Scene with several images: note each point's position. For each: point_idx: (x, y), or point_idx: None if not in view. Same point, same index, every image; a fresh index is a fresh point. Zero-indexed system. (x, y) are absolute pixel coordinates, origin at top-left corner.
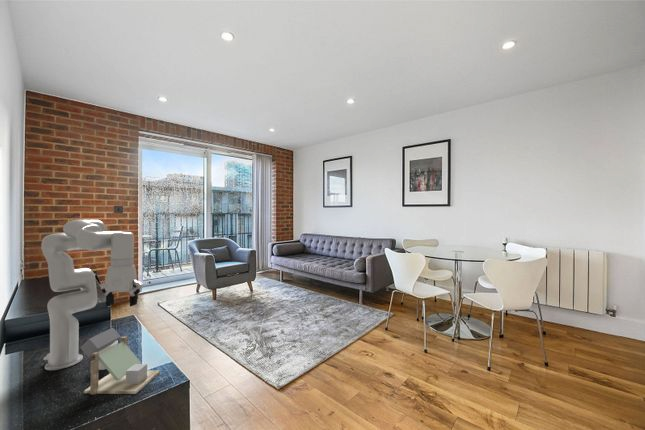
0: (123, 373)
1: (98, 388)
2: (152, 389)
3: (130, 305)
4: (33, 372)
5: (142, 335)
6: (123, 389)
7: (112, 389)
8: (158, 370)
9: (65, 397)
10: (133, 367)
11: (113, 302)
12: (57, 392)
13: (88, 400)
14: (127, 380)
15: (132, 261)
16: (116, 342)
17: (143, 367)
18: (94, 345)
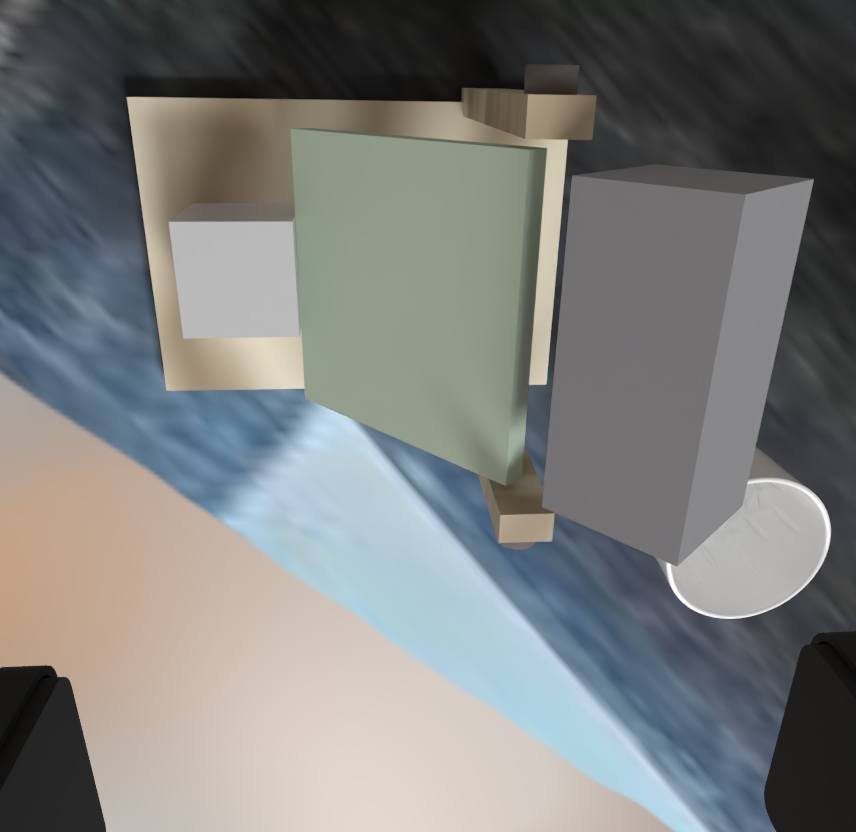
0: (304, 203)
1: (476, 134)
2: (40, 160)
3: (12, 679)
4: None
5: (700, 825)
6: (252, 120)
7: (346, 120)
8: (178, 389)
9: (671, 49)
10: (266, 277)
11: (783, 826)
12: (783, 114)
13: (455, 7)
14: (285, 207)
15: None
16: (692, 595)
17: (177, 287)
18: (628, 181)
